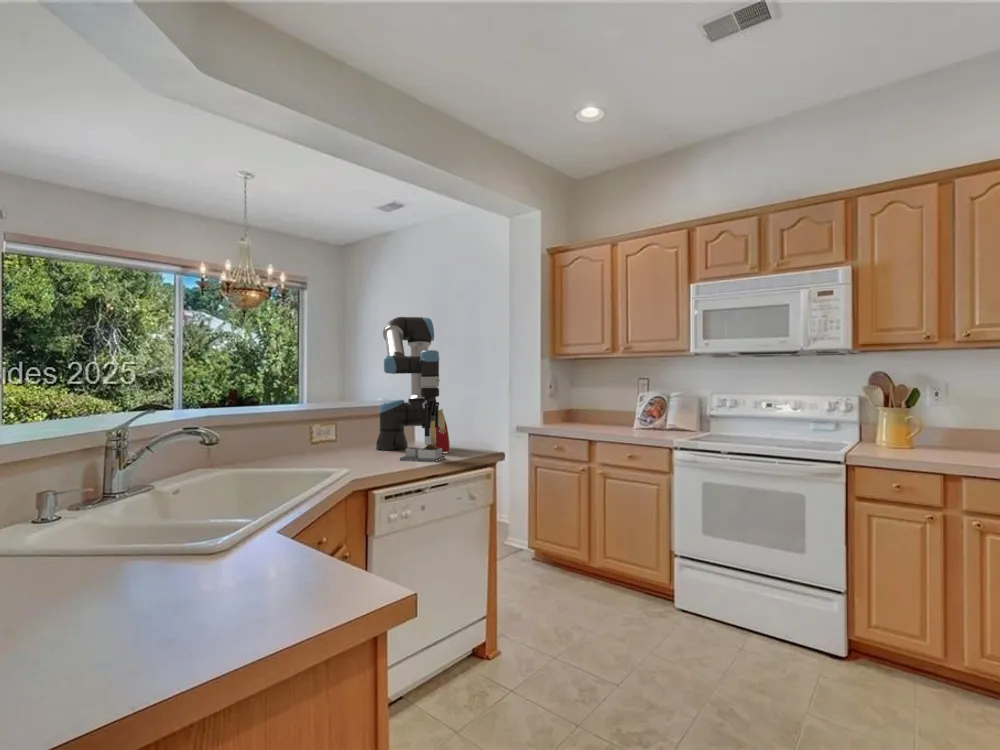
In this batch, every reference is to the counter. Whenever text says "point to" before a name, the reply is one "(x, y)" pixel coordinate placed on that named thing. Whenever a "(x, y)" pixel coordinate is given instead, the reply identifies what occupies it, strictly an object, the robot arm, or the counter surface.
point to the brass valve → (432, 426)
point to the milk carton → (442, 433)
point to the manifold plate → (422, 454)
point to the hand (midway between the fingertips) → (430, 443)
